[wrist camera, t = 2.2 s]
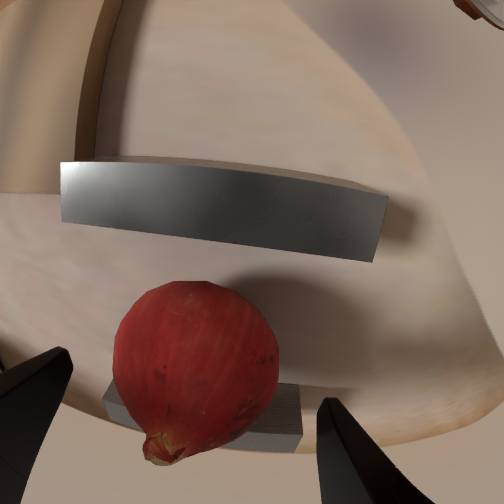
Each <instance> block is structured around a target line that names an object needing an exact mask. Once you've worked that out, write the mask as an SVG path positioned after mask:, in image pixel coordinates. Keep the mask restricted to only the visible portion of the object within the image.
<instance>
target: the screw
mask: <svg viewBox="0 0 504 504" xmlns="http://www.w3.org/2000/svg"><path fill="white" fill-rule="evenodd" d="M453 1H454V3H455V5H456V6H457V7H458V8H460V9H461V10H462V11H463V12H465V13H466V14H467V15H469V16H470V17H471V18H472V19H474V20H477V19H479V18H481V17H483V18H484V19H485V20H486V21H487V22H489V23H490V24H491V25H493V26H494V27H496V28H498V29H500V30H503V31H504V0H453Z"/></svg>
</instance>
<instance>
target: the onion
mask: <svg viewBox="0 0 504 504" xmlns="http://www.w3.org/2000/svg"><path fill="white" fill-rule="evenodd" d="M112 370H113V377H114V383H115V386H116V388H117V391H118V393H119V395H120V397H121V399H122V401H123V403H124V405H125V407H126V408H127V410H128V412H129V414H130V416H131V417H132V419H133V420H134V421H135V422H136V423H137V425H138V426H139V427H140V428H141V429H142V430H143V431H144V432H145V433H146V434H147V435H146V441H145V442H144V444H143V453H144V457H145V460H148V461H151V462H152V463H153V464H155V465H160V466H168V465H172V464H174V463H177V462H178V461H180V460H182V459H183V458H186V457H189V456H192V455H195V454H197V453H200V452H205V451H209V450H212V449H215V448H217V447H220V446H222V445H225V444H227V443H229V442H231V441H233V440H235V439H237V438H239V437H240V436H242V435H243V434H244V433H246V432H247V431H248V430H249V429H250V428H251V427H252V426H253V424H254V423H255V422H256V421H257V419H258V418H259V417H260V416H261V415H262V413H263V412H264V411H265V409H266V408H267V407H268V406H269V404H270V403H271V401H272V399H273V397H274V395H275V393H276V391H277V384H278V376H279V347H278V344H277V341H276V339H275V336H274V333H273V332H272V330H271V329H270V327H269V326H268V324H267V322H266V321H265V319H264V318H263V316H262V315H261V313H260V312H259V310H258V309H257V308H255V307H254V306H253V305H251V304H250V303H249V302H248V301H246V300H245V299H244V298H242V297H241V296H240V295H239V294H237V293H236V292H235V291H232V290H230V289H227V288H224V287H221V286H219V285H216V284H213V283H211V282H208V281H173V282H170V283H167V284H165V285H162V286H160V287H157V288H155V289H152V290H150V291H147V292H146V293H145V294H144V295H143V296H142V297H141V298H140V299H138V300H137V301H136V302H135V304H134V305H133V306H132V308H131V309H130V310H129V312H128V313H127V314H126V316H125V317H124V318H123V320H122V321H121V323H120V326H119V328H118V331H117V333H116V336H115V343H114V355H113V369H112Z"/></svg>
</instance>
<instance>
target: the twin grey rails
mask: <svg viewBox="0 0 504 504" xmlns="http://www.w3.org/2000/svg"><path fill="white" fill-rule="evenodd" d="M387 201H388V196H386V195H384V194H381V193H379V192H377V191H374V190H372V189H369V188H367V187H365V186H362V185H360V184H357V183H355V182H352V181H347V180H342V179H337V178H332V177H327V176H321V175H316V174H310V173H304V172H298V171H292V170H286V169H279V168H272V167H265V166H257V165H249V164H241V163H232V162H222V161H212V160H200V159H187V158H171V157H150V156H104V157H96V158H88V159H81V160H74V161H67V162H61V213H62V222H67V223H75V224H83V225H92V226H100V227H108V228H116V229H124V230H132V231H139V232H147V233H155V234H163V235H171V236H179V237H186V238H194V239H202V240H209V241H217V242H225V243H232V244H240V245H247V246H255V247H262V248H270V249H277V250H284V251H292V252H299V253H307V254H314V255H321V256H328V257H336V258H343V259H350V260H357V261H364V262H373V258H374V255H375V251H376V247H377V244H378V240H379V236H380V232H381V228H382V224H383V219H384V215H385V211H386V206H387ZM102 401H103V403H104V406H105V408H106V411H107V413H108V415H109V418H110V420H112V421H115V422H118V423H121V424H124V425H127V426H130V427H133V428H136V429H140V430H142V429H141V428H140V427H139V426H138V425H137V423H136V422H135V421H134V420H133V419H132V417H131V416H130V414H129V412H128V410H127V408H126V407H125V405H124V403H123V401H122V399H121V397H120V395H119V393H118V391H117V388H116V386H115V383H114V378H113V380H112V382H111V384H110V385H109V387H108V389H107V391H106V392H105V394H104V396H103V398H102ZM302 436H303V426H302V416H301V406H300V396H299V387H298V385H291V384H277V391H276V393H275V395H274V397H273V399H272V401H271V403H270V404H269V406H268V407H267V408H266V409H265V411H264V412H263V413H262V415H261V416H260V417H259V418H258V419H257V421H256V422H255V423H254V424H253V426H252V427H251V428H250V429H249V430H248V431H247V432H246V433H244V434H243V435H242V436H240V437H239V438H237V439H235V440H233V441H231V442H229V443H227V444H225V445H222V446H220V447H225V448H233V449H242V450H252V451H266V452H291V453H294V451H295V449H296V447H297V446H298V444H299V442H300V440H301V438H302Z"/></svg>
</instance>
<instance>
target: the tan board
mask: <svg viewBox="0 0 504 504" xmlns="http://www.w3.org/2000/svg"><path fill="white" fill-rule="evenodd" d="M122 2H123V0H17V1H15V2H14V3H12V4H11V5H9V6H8V7H6V8H5V9H3V10H2V11H0V192H17V193H46V194H61V162H67V161H74V160H81V159H88V158H94V145H95V132H96V122H97V113H98V106H99V98H100V92H101V86H102V80H103V75H104V69H105V64H106V60H107V55H108V51H109V47H110V42H111V39H112V35H113V31H114V27H115V24H116V21H117V17H118V14H119V11H120V8H121V5H122Z"/></svg>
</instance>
